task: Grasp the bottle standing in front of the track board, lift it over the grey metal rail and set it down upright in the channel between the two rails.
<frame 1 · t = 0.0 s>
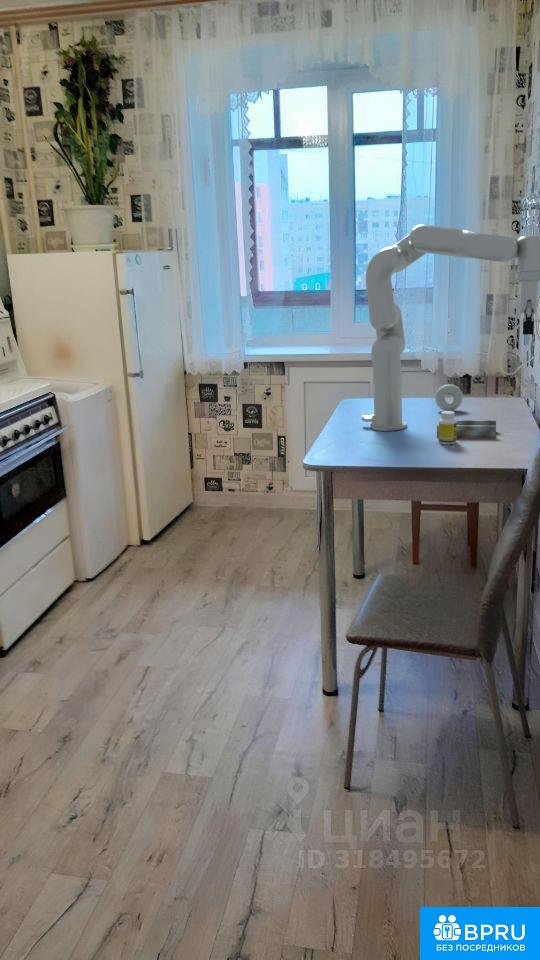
hand: (528, 332, 244), 31 cm above the table, tool pointing down, fingers open, 9 cm apart
supplement bottle: (447, 443, 242), on the table
track: (466, 434, 250), on the table
donut: (448, 411, 285), on the table
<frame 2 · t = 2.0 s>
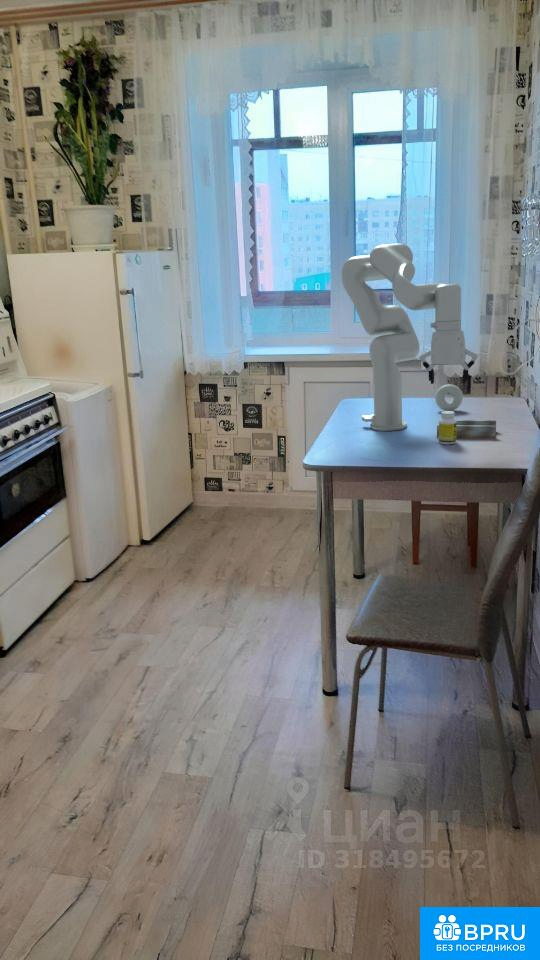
hand: (448, 382, 236), 19 cm above the table, tool pointing down, fingers open, 9 cm apart
nothing on the table moved.
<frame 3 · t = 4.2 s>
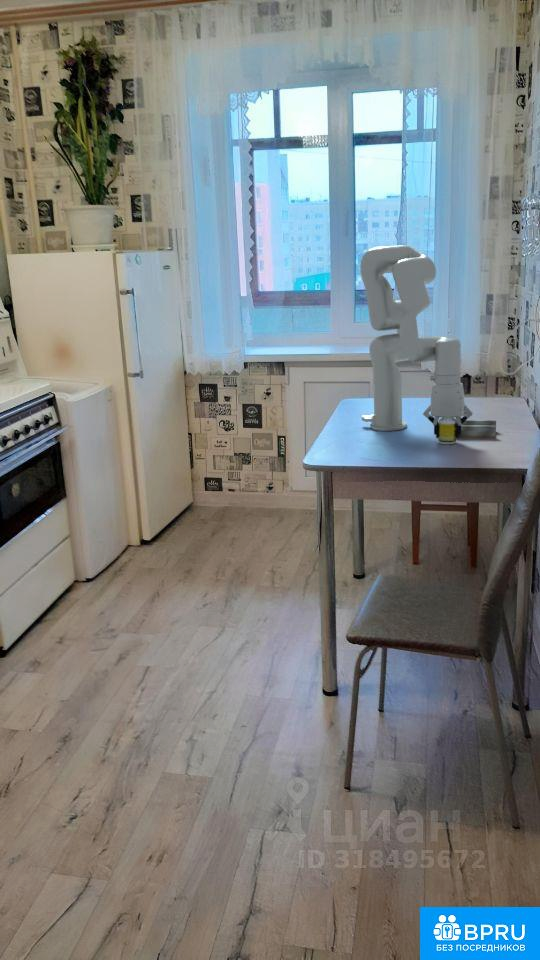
hand: (447, 436, 241), 2 cm above the table, tool pointing down, fingers closed on supplement bottle, 5 cm apart
supplement bottle: (447, 443, 242), on the table, touching gripper
everything else where it was.
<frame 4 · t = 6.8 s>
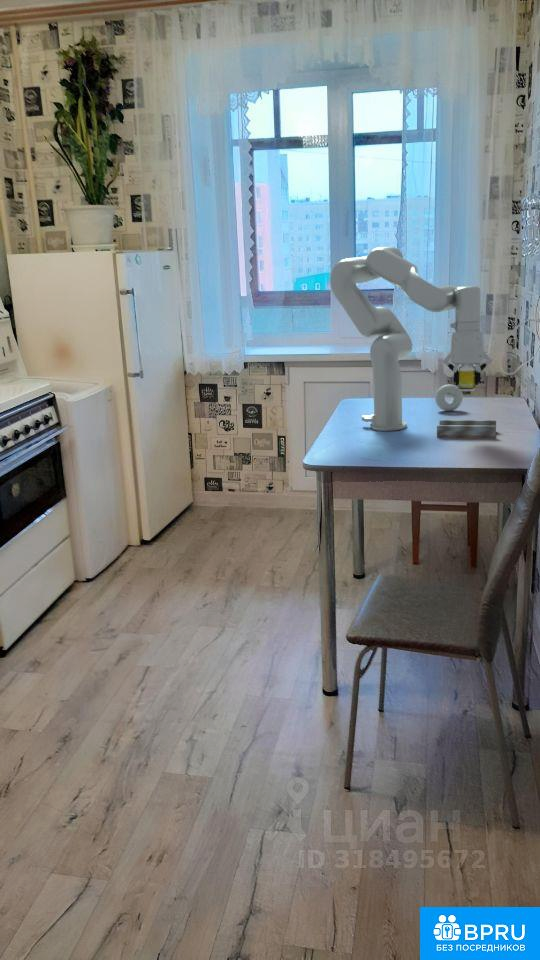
hand: (467, 383, 245), 17 cm above the table, tool pointing down, fingers closed on supplement bottle, 5 cm apart
supplement bottle: (466, 390, 246), point 14 cm above the table, touching gripper
everything else where it was.
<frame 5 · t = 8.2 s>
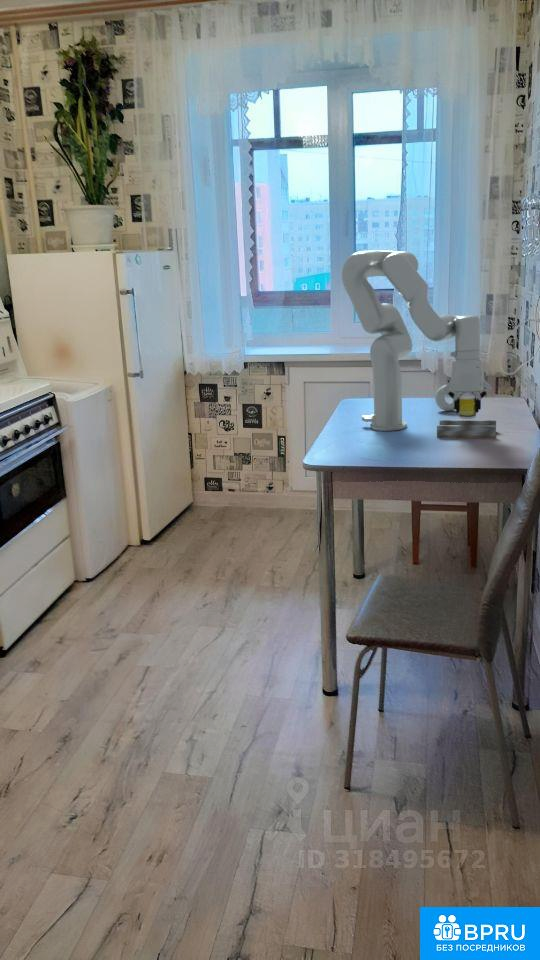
hand: (467, 411, 248), 8 cm above the table, tool pointing down, fingers closed on supplement bottle, 5 cm apart
supplement bottle: (467, 418, 248), point 5 cm above the table, touching gripper
everything else where it was.
when the fingers open (4 cm above the table, at t = 9.4 s): supplement bottle stays where it is, resting on track.
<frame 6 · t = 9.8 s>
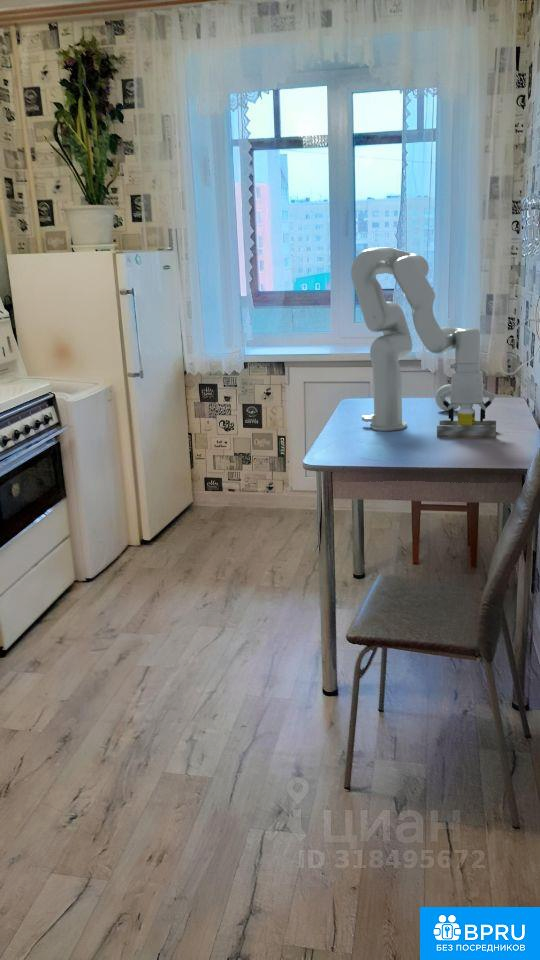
hand: (466, 420, 249), 5 cm above the table, tool pointing down, fingers open, 9 cm apart
supplement bottle: (466, 432, 250), point 1 cm above the table, touching track
everything else where it was.
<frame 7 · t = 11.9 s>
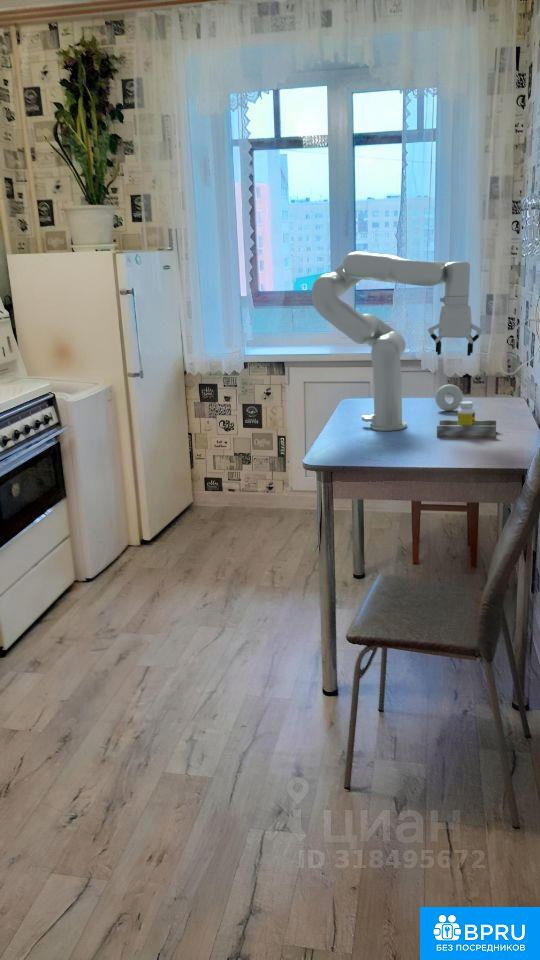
hand: (453, 354, 252), 25 cm above the table, tool pointing down, fingers open, 9 cm apart
nothing on the table moved.
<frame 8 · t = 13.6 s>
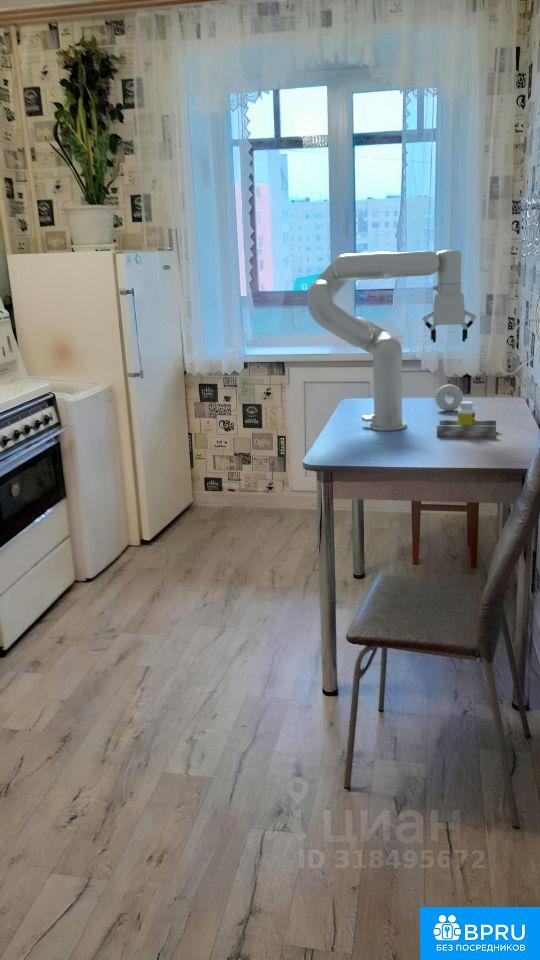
hand: (449, 341, 257), 28 cm above the table, tool pointing down, fingers open, 9 cm apart
nothing on the table moved.
at the end: supplement bottle inside the target area on the track (0.2 cm from its centre), point 0.6 cm above the track's base; supplement bottle tilted 0°; the gripper is holding nothing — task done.
